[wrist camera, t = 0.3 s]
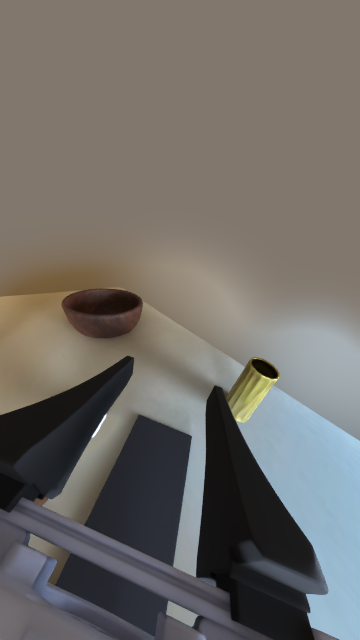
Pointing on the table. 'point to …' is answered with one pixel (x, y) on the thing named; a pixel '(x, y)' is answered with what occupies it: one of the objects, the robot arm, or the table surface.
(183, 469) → the mat
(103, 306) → the wooden bowl
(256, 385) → the vase
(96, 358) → the table surface
